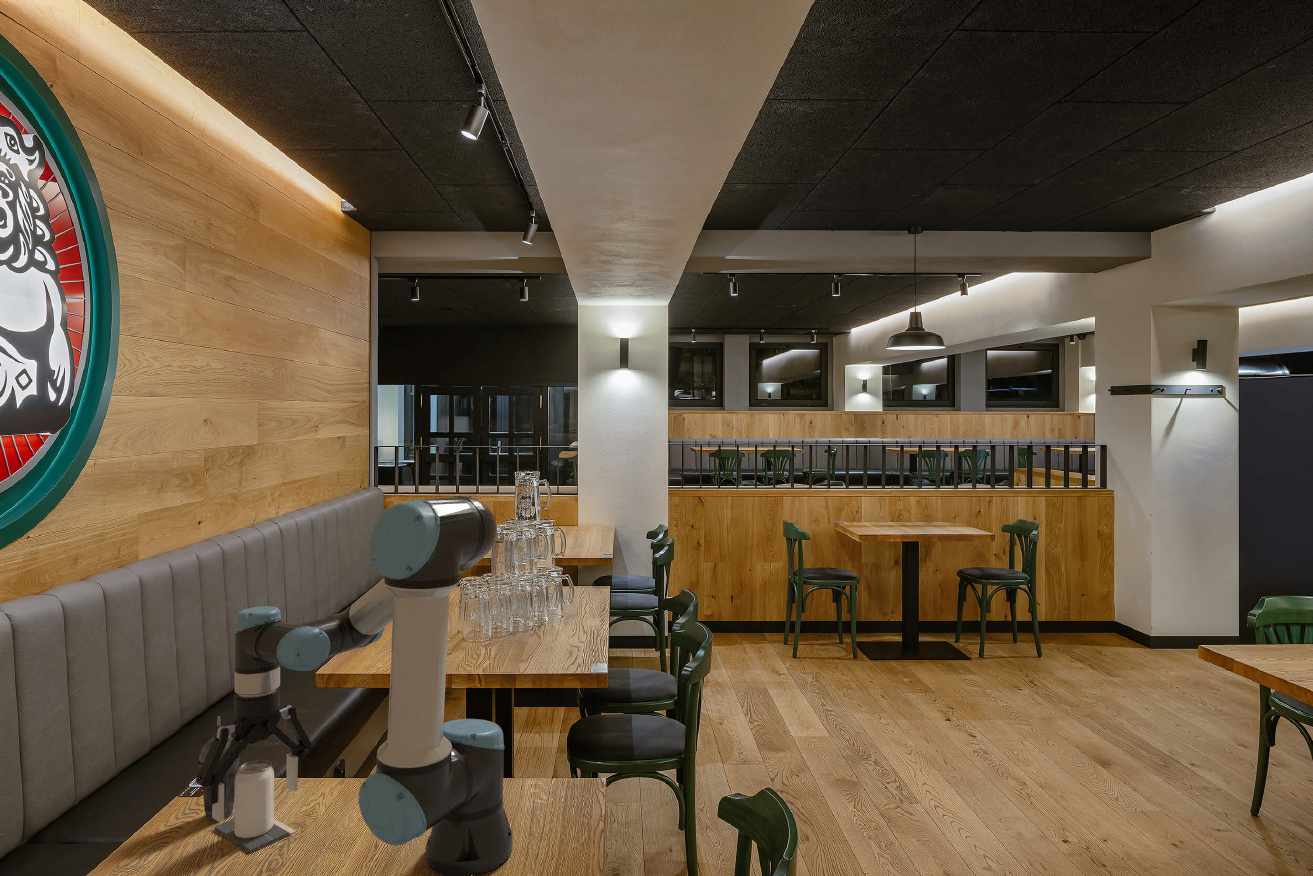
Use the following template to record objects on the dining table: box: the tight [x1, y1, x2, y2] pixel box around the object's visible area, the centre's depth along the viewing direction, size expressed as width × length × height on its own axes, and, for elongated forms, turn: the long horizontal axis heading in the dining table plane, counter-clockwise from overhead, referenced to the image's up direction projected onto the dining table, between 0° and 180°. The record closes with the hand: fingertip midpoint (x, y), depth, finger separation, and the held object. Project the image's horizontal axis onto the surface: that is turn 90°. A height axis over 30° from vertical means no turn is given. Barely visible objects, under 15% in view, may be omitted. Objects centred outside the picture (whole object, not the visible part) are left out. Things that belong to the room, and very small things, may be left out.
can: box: [233, 759, 275, 839], centre depth 135 cm, size 6×6×12 cm
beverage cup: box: [197, 715, 242, 823], centre depth 141 cm, size 7×7×20 cm
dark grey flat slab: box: [214, 818, 297, 854], centre depth 136 cm, size 14×8×1 cm, turn 56°
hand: (256, 803), depth 135 cm, fingers open, 13 cm apart
